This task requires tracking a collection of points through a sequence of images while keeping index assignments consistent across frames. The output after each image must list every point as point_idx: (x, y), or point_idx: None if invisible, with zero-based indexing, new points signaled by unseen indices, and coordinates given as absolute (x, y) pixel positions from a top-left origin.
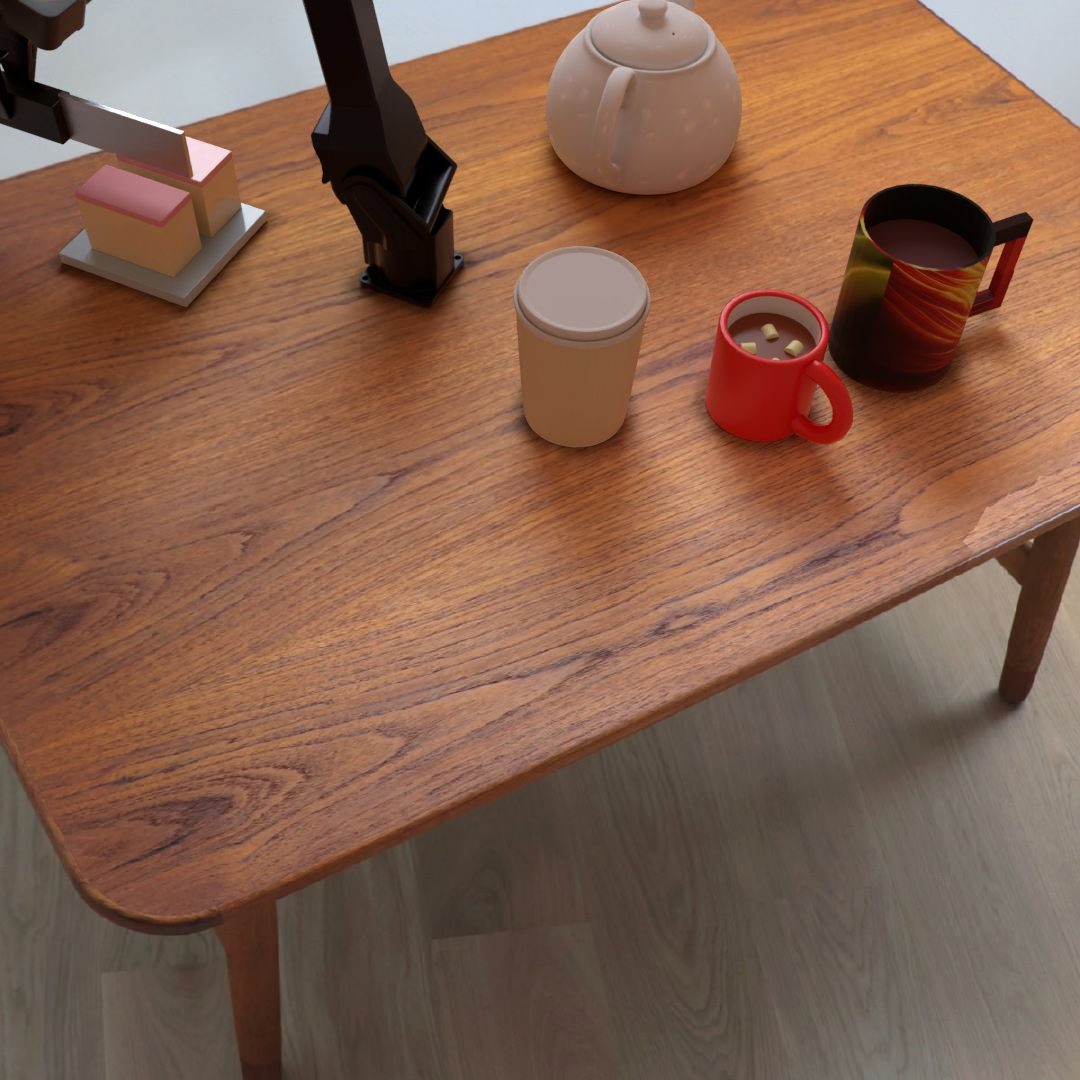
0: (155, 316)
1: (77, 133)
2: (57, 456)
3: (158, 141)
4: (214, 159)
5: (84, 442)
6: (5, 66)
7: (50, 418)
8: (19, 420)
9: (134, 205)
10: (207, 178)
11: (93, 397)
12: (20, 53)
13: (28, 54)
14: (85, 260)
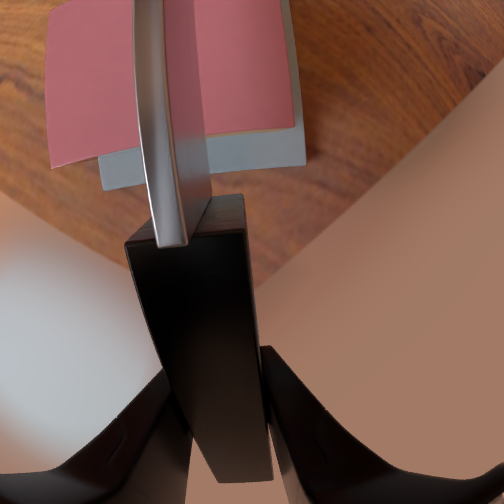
0: (315, 10)
1: (205, 164)
2: (478, 31)
3: None
4: (76, 5)
5: (461, 15)
6: (187, 447)
7: (463, 50)
8: (476, 74)
9: (261, 5)
10: None
11: (431, 23)
12: (151, 464)
13: (134, 450)
14: (299, 123)
